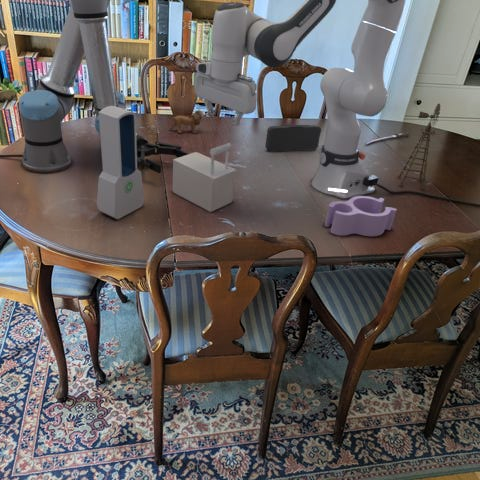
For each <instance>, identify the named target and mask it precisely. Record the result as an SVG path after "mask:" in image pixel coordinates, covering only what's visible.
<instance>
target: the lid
mask: <svg viewBox="0 0 480 480" xmlns="http://www.w3.org/2000/svg"><path fill="white" fill-rule="evenodd" d="M230 150H232V144H231V143H229V142H228V143H225V144H222V145H218V146H216V147H213V148H210V150H209V154H210V156H211V157H209V156H207V155H204V154H202V153H200V152H197V151H195V152H191V153H188V155H185V156H182V157H179V158H178V157H176V158H173V159H172V164H173V163H174V164H176V165H178V166H180V167H182V168H184V169H186V170H188V171H190V172H192V173H195V174H197V175H199V176H201V177H203V178H205V179H207V180H209V181H211V182H213V183H214V182H217V181H219V180H222V179H224V178H227V177H229V176H232V175H234V174H235V175H236V174H237V169H236V168H233V167H231V166H229V161H230ZM224 152H225V162H224V163H223V162H220V161H217V160H216V159H215V157H216V155H219V154H222V153H224Z"/></svg>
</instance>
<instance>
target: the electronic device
mask: <svg viewBox="0 0 480 480" xmlns="http://www.w3.org/2000/svg"><path fill="white" fill-rule="evenodd" d="M136 114H137V113H136V112H134V111H131V110H127V109H126V108H125V109H122V108H119V107H115V106H108V107H105V108H103V109H102V110H101V111H100V112H99V124H100V135H99V138H100V137H101V138H100V147H101V149H100V151H101V164H102V171H101V173H100V174H99V176H98V182H97V194H96V206H97V209H98V211H99V212H101V213H102V214H104V215H107V216H108V217H111V218H113V219H115V220H120V219H121V218H123V217H124V216H125V217H126V216H127V215H128V214H130V213H132V212H135V211H136V210H138V209H140V208H142V207H143V206H144V203H145V196H144V195H145V193H144V186H143V177H142V171H141V170H140V169H139V168H137V143H136V134H137V115H136Z"/></svg>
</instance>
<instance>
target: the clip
mask: <svg viewBox="0 0 480 480" xmlns="http://www.w3.org/2000/svg"><path fill="white" fill-rule="evenodd" d="M384 201H385V198H383V197H379V198H376V197H373V196H368V195H359V196H355V197H350V198H349V200H347V201H339V200H338V201H337V200H335V201H332V202H330V203H329V205H328V208H327V214H326V218H325V222H324V227H326V228H329V227H330V226H331V227H330V233H331V234H333V235H336V236H348V235H353V234H356V235H360V236H364V237H365V236H366V237H378V236H381V235H382V234H384V232H385V230H387V231H391V229H392V226H393V222H394V219H395V216H396V213H397V210H398V209H397V208H395V207H391V206H385V207H384V211H383V212H382V209H383V206H384Z"/></svg>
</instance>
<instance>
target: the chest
mask: <svg viewBox="0 0 480 480" xmlns="http://www.w3.org/2000/svg"><path fill="white" fill-rule="evenodd" d="M235 178H236V174H234V175H232V176H229V177H227V178H224V179H222V180H219V181H217V182H214V183H213V182H211V181H209V180H207V179H205V178H203V177H201V176H199V175H197V174H195V173H192V172H190V171H188V170H186V169H184V168H182V167H180V166H178V165H176V164H174V163H173V162H172V193H174V194H175V195H177V196H179V197H181V198H183V199H185V200H187V201H189V202H191V203H192V204H194V205H196V206H198V207H200V208H202V209H204V210H205V211H208V212H209V213H211V212H214V211H217V210H218V209H220V208H223V207H226V206H227V205H229V204H231V203H233V201H234V200H233V199H234V190H235V189H234V188H235V187H234V186H235Z"/></svg>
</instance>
